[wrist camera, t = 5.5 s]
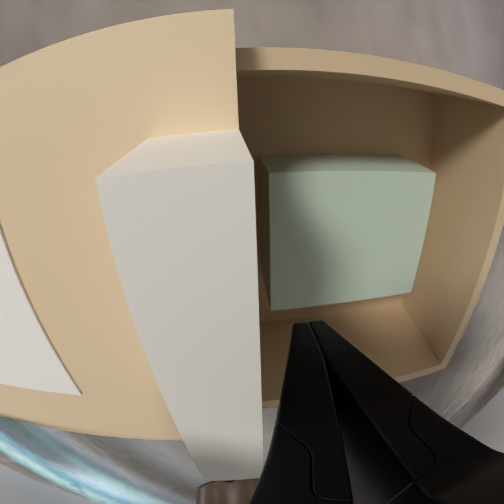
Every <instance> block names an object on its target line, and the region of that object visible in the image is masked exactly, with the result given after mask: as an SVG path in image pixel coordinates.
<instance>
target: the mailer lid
mask: <svg viewBox="0 0 504 504" xmlns="http://www.w3.org/2000/svg"><path fill="white" fill-rule="evenodd" d="M0 416H2V417H6V418H9V419H13V420H17V421H21V422H25V423H30V424H34V425H39V426H44V427H49V428H54V429H60V430H65V431H71V432H78V433H85V434H93V435H101V436H111V437H122V438H136V439H156V440H183V441H184V443H185V445H186V447H187V449H188V451H189V452H190V454H191V456H192V458H193V460H194V462H195V464H196V466H197V467H198V469H199V471H200V473H201V475H202V476H203V478H204V480H205V481H226V480H242V479H254V478H260V476H261V473H262V470H263V468H264V466H263V429H262V394H261V360H260V328H259V298H258V268H257V239H256V211H255V184H254V161H253V159H252V157H251V155H250V152H249V150H248V148H247V146H246V144H245V142H244V139H243V137H242V135H241V133H240V131H239V121H238V100H237V78H236V56H235V34H234V10H233V9H223V10H209V11H198V12H188V13H180V14H173V15H166V16H159V17H154V18H148V19H143V20H138V21H133V22H128V23H124V24H119V25H115V26H111V27H107V28H103V29H100V30H96V31H93V32H89V33H86V34H82V35H79V36H76V37H73V38H70V39H67V40H64V41H61V42H58V43H56V44H53V45H50V46H48V47H45V48H42V49H40V50H37V51H35V52H32V53H30V54H28V55H25V56H23V57H21V58H19V59H16V60H14V61H12V62H10V63H8V64H6V65H4V66H2V67H0Z"/></svg>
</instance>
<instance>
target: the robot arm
mask: <svg viewBox="0 0 504 504" xmlns="http://www.w3.org/2000/svg"><path fill="white" fill-rule="evenodd" d="M249 504H504V453H501V452H498V451H496V450H493V449H491V448H489V447H488V446H486V445H484V444H483V443H481V442H480V441H478V440H476V439H475V438H473V437H471V436H470V435H468V434H467V433H465V432H464V431H462V430H460V429H459V428H457V427H456V426H454V425H453V424H451V423H450V422H448V421H447V420H445V419H444V418H442V417H441V416H440V415H438V414H437V413H436V412H434V411H433V410H432V409H430V408H429V407H428V406H426V405H425V404H424V403H423V402H421V401H420V400H419V399H418V398H417V397H415V396H412V393H410V392H409V391H408V390H407V389H406V388H404V387H403V386H402V385H401V384H399V383H398V382H397V381H396V380H395V379H393V378H392V377H391V376H390V375H389V374H387V373H386V372H385V371H384V370H383V369H381V368H380V367H379V366H378V365H377V364H375V363H374V362H373V361H372V360H371V359H369V358H368V357H367V356H366V355H365V354H363V353H362V352H361V351H360V350H358V349H357V348H356V347H355V346H354V345H352V344H351V343H350V342H349V341H348V340H346V339H345V338H344V337H343V336H342V335H340V334H339V333H338V332H337V331H336V330H334V329H333V328H332V327H331V326H330V325H329V324H327V323H326V322H325V321H323V320H316V321H309V322H300V323H294V324H293V327H292V333H291V339H290V345H289V351H288V357H287V363H286V368H285V374H284V380H283V385H282V390H281V396H280V401H279V406H278V411H277V417H276V422H275V427H274V431H273V435H272V440H271V444H270V448H269V452H268V456H267V459H266V462H265V465H264V468H263V470H262V473H261V476H260V478H259V481H258V483H257V486H256V488H255V490H254V493H253V495H252V497H251V500H250V502H249Z"/></svg>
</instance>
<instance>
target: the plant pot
mask: <svg viewBox="0 0 504 504" xmlns="http://www.w3.org/2000/svg"><path fill="white" fill-rule="evenodd" d="M258 481H259V478H254V479H242V480H234V481H233V482H225V481H214V482H210V483H207V484H205V485H202V486H201V487H199V488H198V490H197V503H196V504H249V502H250V500H251V497H252V495H253V493H254V490H255V488H256V486H257V483H258Z"/></svg>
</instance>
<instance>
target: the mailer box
mask: <svg viewBox="0 0 504 504" xmlns="http://www.w3.org/2000/svg"><path fill="white" fill-rule="evenodd" d="M235 56H236V78H237V100H238V121H239V131H240V133H241V135H242V137H243V139H244V142H245V144H246V146H247V148H248V150H249V152H250V155H251V157H252V159H253V161H254V184H255V211H256V239H257V268H258V298H259V328H260V360H261V394H262V408H270V407H278V406H279V401H280V396H281V390H282V385H283V380H284V374H285V368H286V363H287V357H288V351H289V345H290V339H291V333H292V327H293V324H294V323H300V322H309V321H316V320H323V321H325V322H326V323H327V324H329V325H330V326H331V327H332V328H333V329H334V330H336V331H337V332H338V333H339V334H340V335H342V336H343V337H344V338H345V339H346V340H348V341H349V342H350V343H351V344H352V345H354V346H355V347H356V348H357V349H358V350H360V351H361V352H362V353H363V354H365V355H366V356H367V357H368V358H369V359H371V360H372V361H373V362H374V363H375V364H377V365H378V366H379V367H380V368H381V369H383V370H384V371H385V372H386V373H387V374H389V375H390V376H391V377H392V378H393V379H395V380H396V381H397V382H398V383H400V382H404V381H408V380H411V379H415V378H418V377H421V376H425V375H428V374H431V373H434V372H437V371H440V370H443V369H445V368H446V366H447V365H448V363H449V361H450V359H451V357H452V355H453V353H454V351H455V349H456V347H457V345H458V343H459V341H460V339H461V337H462V335H463V333H464V331H465V329H466V326H467V324H468V322H469V320H470V318H471V315H472V313H473V311H474V308H475V306H476V304H477V301H478V299H479V296H480V294H481V291H482V288H483V286H484V283H485V281H486V278H487V275H488V272H489V269H490V266H491V263H492V260H493V257H494V254H495V251H496V248H497V245H498V241H499V238H500V234H501V231H502V227H503V223H504V90H501V89H499V88H496V87H493V86H491V85H488V84H485V83H482V82H479V81H476V80H473V79H470V78H467V77H464V76H461V75H457V74H454V73H450V72H447V71H443V70H440V69H436V68H432V67H428V66H424V65H419V64H415V63H410V62H406V61H401V60H396V59H390V58H385V57H379V56H372V55H366V54H358V53H350V52H342V51H332V50H320V49H304V48H235Z"/></svg>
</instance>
